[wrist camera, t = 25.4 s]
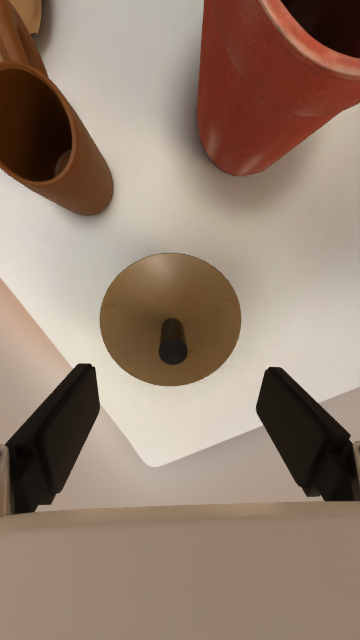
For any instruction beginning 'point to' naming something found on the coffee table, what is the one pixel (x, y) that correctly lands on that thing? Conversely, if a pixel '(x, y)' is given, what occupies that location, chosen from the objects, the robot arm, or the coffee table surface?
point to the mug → (44, 128)
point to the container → (28, 14)
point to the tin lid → (170, 319)
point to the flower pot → (273, 76)
